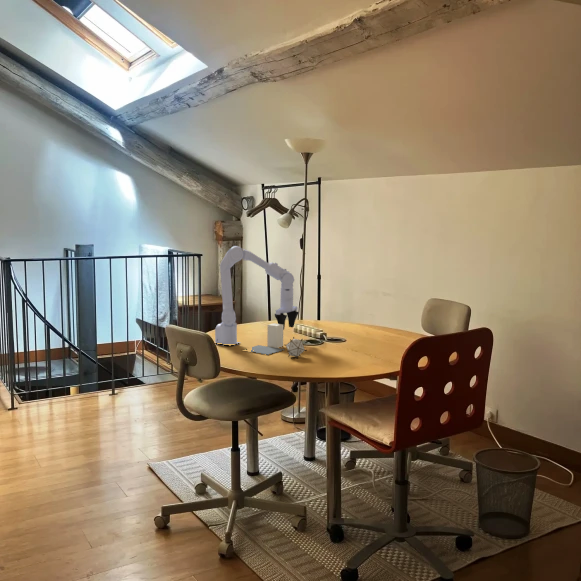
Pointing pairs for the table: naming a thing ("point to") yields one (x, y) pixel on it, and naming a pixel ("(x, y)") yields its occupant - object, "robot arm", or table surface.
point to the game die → (295, 347)
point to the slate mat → (265, 349)
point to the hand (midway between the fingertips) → (286, 328)
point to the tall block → (275, 335)
